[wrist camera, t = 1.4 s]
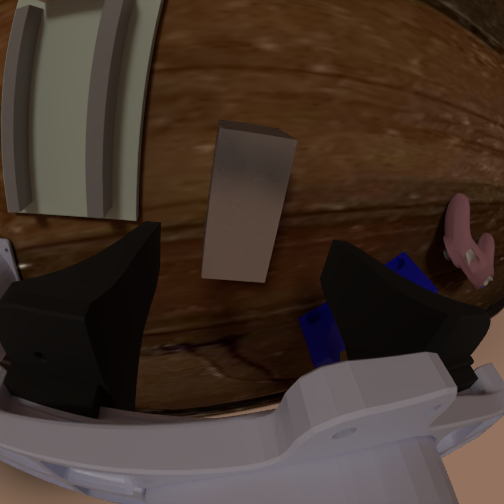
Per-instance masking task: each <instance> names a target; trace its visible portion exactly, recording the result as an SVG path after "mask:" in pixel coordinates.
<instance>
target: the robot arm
mask: <svg viewBox="0 0 504 504" xmlns="http://www.w3.org/2000/svg"><path fill="white" fill-rule="evenodd" d="M160 232H161V222H150V221H145V222H144V223H142V224H141V225H139V226H138V227H137V228H135V229H134V230H133V231H131V232H130V233H128V234H127V235H126V236H124V237H123V238H122V239H120V240H119V241H117V242H115V243H114V244H112V245H111V246H109V247H108V248H106V249H105V250H103V251H101V252H100V253H98V254H96V255H94V256H92V257H90V258H88V259H86V260H84V261H82V262H79V263H77V264H75V265H72V266H70V267H67V268H65V269H62V270H59V271H56V272H53V273H50V274H46V275H43V276H39V277H35V278H30V279H25V280H20V277H19V273H18V270H17V266H16V263H15V259H14V255H13V251H12V247H11V243H10V241H9V240H7V239H0V361H1V360H2V359H3V358H4V356H5V354H7V356H8V357H9V359H10V361H11V362H12V364H11V366H10V369H9V371H7V370H6V369H4V368H3V367H2V366H0V461H2V462H4V463H7V464H8V465H11V466H13V467H15V468H17V469H19V470H22V471H24V472H26V473H28V474H31V475H33V476H35V477H37V478H40V479H42V480H45V481H47V482H50V483H53V484H55V485H58V486H61V487H64V488H66V489H69V490H72V491H75V492H78V493H81V494H84V495H88V496H91V497H94V498H98V499H102V500H106V501H110V502H114V503H118V504H459V503H458V500H457V498H456V495H455V492H454V489H453V487H452V484H451V482H450V479H449V477H448V474H447V471H446V469H445V467H444V464H443V462H442V459H441V458H442V457H444V456H446V455H448V454H449V453H451V452H453V451H455V450H456V449H458V448H460V447H462V446H463V445H465V444H467V443H469V442H470V441H472V440H474V439H475V438H477V437H479V436H480V435H481V434H482V433H484V432H485V431H486V430H487V429H489V428H490V427H491V426H492V425H493V424H494V423H496V422H497V421H498V420H499V419H500V418H501V417H502V416H503V415H504V381H503V379H502V378H501V376H500V375H499V373H498V371H497V370H496V368H495V367H494V365H493V364H492V363H488V364H485V365H482V366H480V367H478V368H476V369H475V370H474V371H473V369H472V367H471V366H470V365H472V364H473V363H474V360H473V359H472V357H471V356H470V355H471V354H472V353H473V352H474V350H475V349H476V348H477V346H478V345H479V344H480V342H481V341H482V340H483V338H484V336H485V335H486V333H487V331H488V329H489V326H490V321H491V320H490V316H489V315H488V314H487V312H486V311H485V310H484V309H482V308H480V307H477V306H473V305H470V304H466V303H462V302H459V301H456V300H453V299H450V298H447V297H444V296H442V295H439V294H437V293H435V292H432V291H430V290H428V289H425V288H423V287H421V286H419V285H417V284H415V283H414V282H412V281H410V280H408V279H406V278H404V277H403V276H401V275H399V274H398V273H396V272H395V271H393V270H391V269H390V268H388V267H387V266H385V265H383V264H382V263H380V262H379V261H377V260H376V259H374V258H373V257H371V256H370V255H368V254H367V253H365V252H364V251H362V250H361V249H359V248H358V247H356V246H354V245H352V244H350V243H348V242H346V241H339V240H333V242H332V245H331V248H330V251H329V254H328V257H327V260H326V263H325V266H324V268H323V271H322V274H321V277H320V280H321V285H322V289H323V292H324V296H325V299H326V301H327V304H328V306H329V308H330V311H331V313H332V315H333V318H334V320H335V322H336V325H337V327H338V329H339V332H340V334H341V336H342V339H343V342H344V345H345V349H346V352H347V356H348V360H346V361H341V362H336V363H332V364H328V365H323V366H320V367H318V368H316V369H315V370H313V371H311V372H309V373H307V374H305V375H303V376H301V377H300V378H299V379H298V380H297V381H296V382H295V383H294V384H293V385H292V386H291V387H290V388H289V389H288V391H287V392H286V393H285V395H284V397H283V399H282V401H281V403H280V405H279V406H278V408H277V409H272V410H266V411H261V412H255V413H249V414H243V415H237V416H230V417H222V418H192V417H177V416H166V415H156V414H147V413H139V412H135V397H136V384H137V373H138V364H139V356H140V348H141V342H142V336H143V331H144V327H145V324H146V320H147V317H148V313H149V310H150V306H151V303H152V300H153V296H154V293H155V290H156V286H157V281H158V275H159V270H160ZM7 249H8V250H7Z"/></svg>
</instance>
